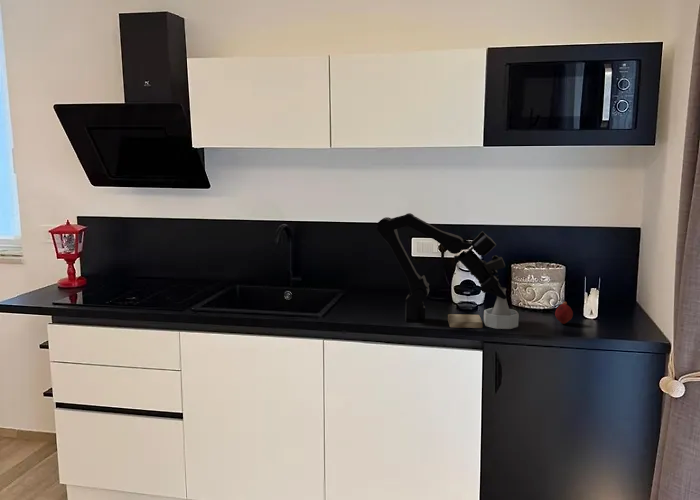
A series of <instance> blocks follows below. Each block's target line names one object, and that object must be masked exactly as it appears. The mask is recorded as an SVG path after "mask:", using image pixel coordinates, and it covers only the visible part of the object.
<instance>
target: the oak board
mask: <svg viewBox="0 0 700 500" xmlns="http://www.w3.org/2000/svg"><path fill="white" fill-rule="evenodd" d="M447 321H448V325H449V327H450V328H459V329H460V328H463V329H465V328H467V329H470V328H472V329H483V323H484V321H483V320H482V318H481V317H480V314H457V313H456V314H454V313H451V314H447Z"/></svg>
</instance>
